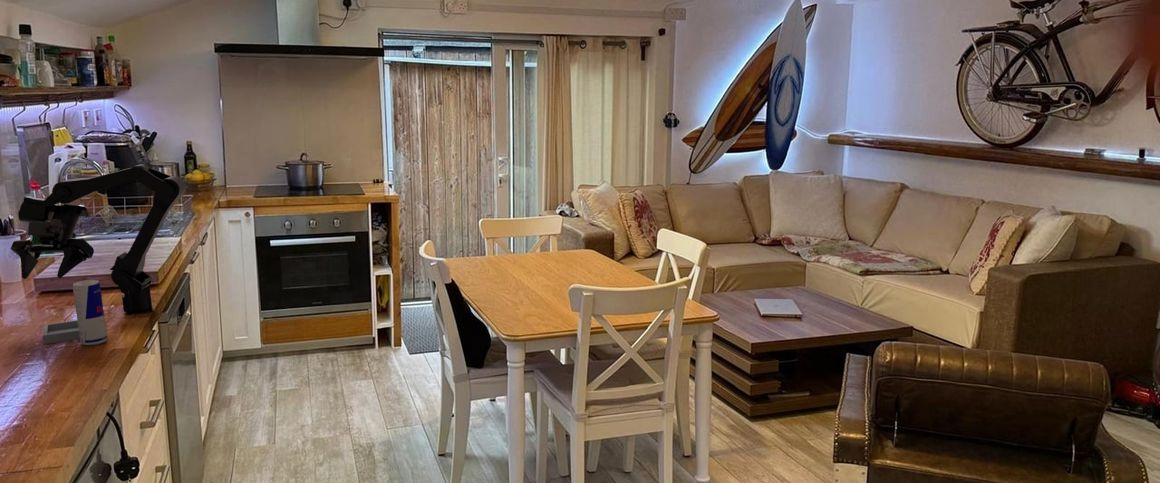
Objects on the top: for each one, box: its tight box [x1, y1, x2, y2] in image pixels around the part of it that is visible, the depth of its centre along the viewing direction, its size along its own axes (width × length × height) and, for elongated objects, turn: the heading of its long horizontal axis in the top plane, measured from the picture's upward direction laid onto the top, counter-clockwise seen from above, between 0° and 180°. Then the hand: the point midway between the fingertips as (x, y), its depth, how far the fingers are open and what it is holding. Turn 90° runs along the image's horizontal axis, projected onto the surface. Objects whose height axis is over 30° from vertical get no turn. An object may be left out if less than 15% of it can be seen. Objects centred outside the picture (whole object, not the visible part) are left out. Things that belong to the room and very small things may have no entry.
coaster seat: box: [42, 319, 80, 345], centre depth 208 cm, size 11×11×2 cm
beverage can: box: [72, 279, 108, 347], centre depth 200 cm, size 6×6×15 cm
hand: (41, 277), depth 211 cm, fingers open, 9 cm apart
